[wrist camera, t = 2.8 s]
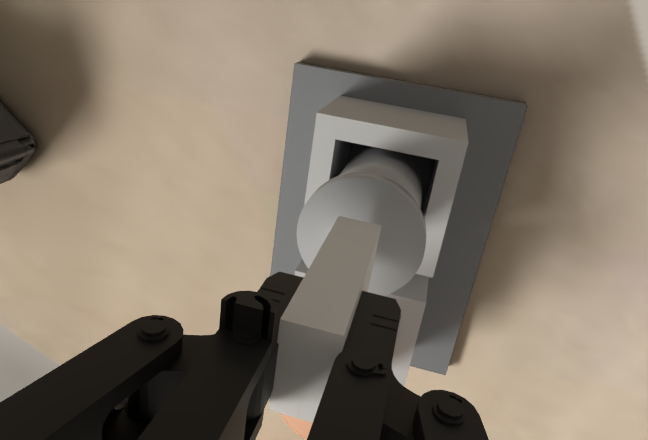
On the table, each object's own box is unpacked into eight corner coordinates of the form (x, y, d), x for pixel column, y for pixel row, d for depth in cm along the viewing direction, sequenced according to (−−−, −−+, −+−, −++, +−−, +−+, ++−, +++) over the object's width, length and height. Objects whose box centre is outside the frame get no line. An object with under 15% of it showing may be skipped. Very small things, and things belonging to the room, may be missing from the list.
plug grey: (340, 129, 24) (304, 165, 18) (442, 149, 23) (439, 194, 17) (325, 222, 26) (289, 281, 20) (419, 243, 25) (409, 310, 19)
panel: (298, 62, 28) (260, 73, 22) (525, 102, 26) (544, 126, 20) (268, 320, 34) (234, 377, 29) (445, 367, 33) (444, 437, 27)
